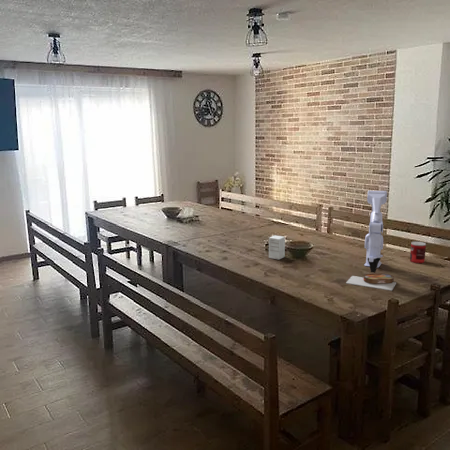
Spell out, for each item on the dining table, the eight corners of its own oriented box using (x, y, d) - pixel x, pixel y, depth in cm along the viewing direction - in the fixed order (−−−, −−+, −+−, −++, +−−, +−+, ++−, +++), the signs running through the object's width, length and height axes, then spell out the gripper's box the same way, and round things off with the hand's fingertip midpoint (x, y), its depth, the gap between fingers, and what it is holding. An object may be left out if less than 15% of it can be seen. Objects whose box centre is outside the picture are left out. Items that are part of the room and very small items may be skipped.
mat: (352, 276, 236) (352, 275, 236) (396, 283, 225) (396, 282, 225) (345, 283, 226) (345, 282, 226) (391, 290, 215) (391, 289, 215)
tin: (390, 273, 231) (396, 277, 223) (389, 279, 231) (396, 283, 223) (361, 273, 230) (366, 278, 222) (360, 279, 231) (366, 284, 223)
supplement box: (274, 255, 277) (274, 235, 274) (285, 256, 273) (285, 236, 270) (268, 257, 271) (268, 237, 268) (279, 259, 267) (279, 239, 264)
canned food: (413, 258, 266) (414, 240, 263) (426, 261, 260) (428, 243, 258) (407, 261, 261) (408, 243, 258) (421, 264, 255) (422, 245, 253)
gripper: (380, 250, 216) (378, 277, 219) (386, 243, 229) (384, 269, 232) (365, 248, 220) (363, 275, 223) (371, 242, 232) (370, 267, 235)
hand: (373, 272), depth 227 cm, fingers closed
